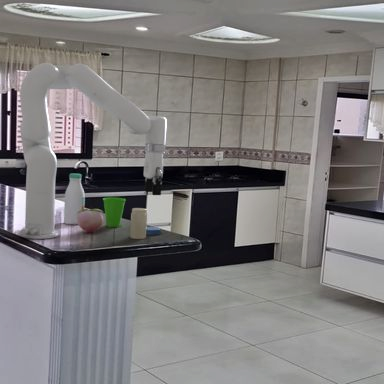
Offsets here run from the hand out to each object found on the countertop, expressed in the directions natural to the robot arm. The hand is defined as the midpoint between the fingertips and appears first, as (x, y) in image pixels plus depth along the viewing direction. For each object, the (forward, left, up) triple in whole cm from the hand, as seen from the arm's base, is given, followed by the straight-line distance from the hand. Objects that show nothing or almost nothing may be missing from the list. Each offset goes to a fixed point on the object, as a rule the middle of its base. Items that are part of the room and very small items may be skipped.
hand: (152, 193), depth 217 cm
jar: (-10, +2, -16) cm, 18 cm away
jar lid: (0, 0, -14) cm, 14 cm away
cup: (+8, +18, -16) cm, 25 cm away
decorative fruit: (-9, +21, -16) cm, 28 cm away
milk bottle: (+7, +34, -16) cm, 38 cm away
